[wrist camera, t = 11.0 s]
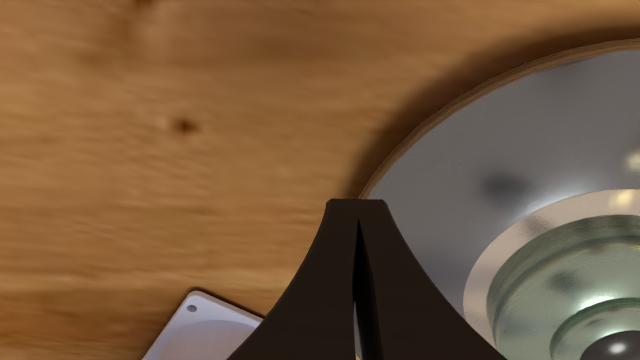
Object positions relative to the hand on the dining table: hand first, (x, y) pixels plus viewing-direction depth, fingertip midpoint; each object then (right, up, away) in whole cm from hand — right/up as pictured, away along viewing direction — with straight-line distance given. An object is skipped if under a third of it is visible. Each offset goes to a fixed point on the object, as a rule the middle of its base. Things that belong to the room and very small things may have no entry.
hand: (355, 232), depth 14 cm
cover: (+11, -4, +11) cm, 16 cm away
